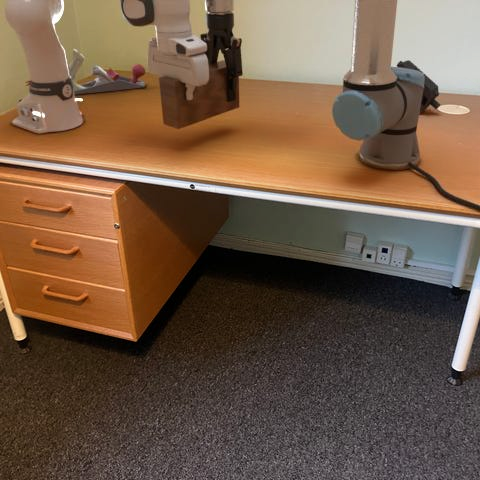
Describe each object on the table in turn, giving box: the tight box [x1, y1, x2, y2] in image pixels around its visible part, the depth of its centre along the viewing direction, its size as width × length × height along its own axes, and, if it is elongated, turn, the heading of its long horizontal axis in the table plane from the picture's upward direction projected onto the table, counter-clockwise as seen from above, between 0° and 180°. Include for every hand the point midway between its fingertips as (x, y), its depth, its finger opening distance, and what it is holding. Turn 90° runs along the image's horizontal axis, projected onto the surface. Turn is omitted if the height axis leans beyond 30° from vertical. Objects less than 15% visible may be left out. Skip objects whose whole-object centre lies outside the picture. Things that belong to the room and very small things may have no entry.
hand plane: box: [68, 48, 146, 95], centre depth 194 cm, size 7×31×15 cm, turn 107°
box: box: [158, 59, 240, 130], centre depth 146 cm, size 24×6×12 cm, turn 137°
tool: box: [396, 59, 442, 114], centre depth 170 cm, size 6×19×15 cm, turn 51°
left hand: (179, 96), depth 141 cm, fingers closed on box, 6 cm apart
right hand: (222, 98), depth 153 cm, fingers closed on box, 6 cm apart
